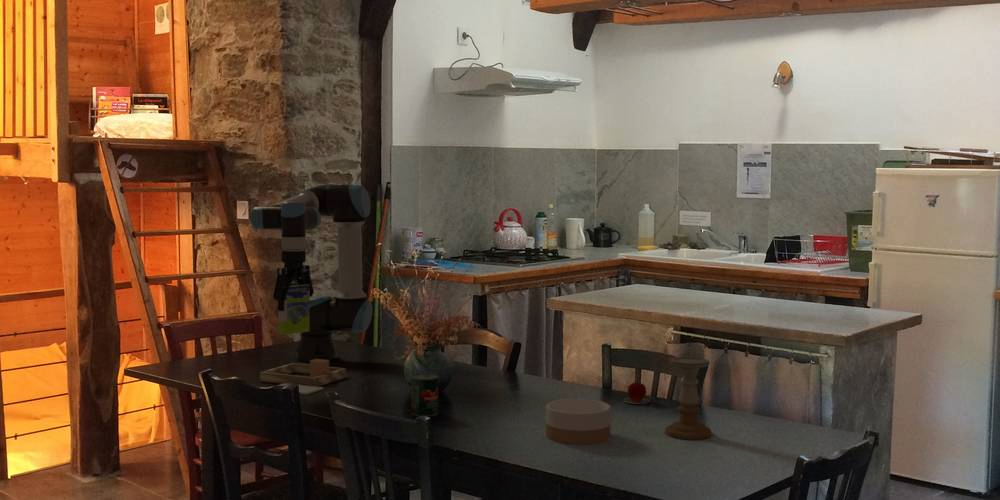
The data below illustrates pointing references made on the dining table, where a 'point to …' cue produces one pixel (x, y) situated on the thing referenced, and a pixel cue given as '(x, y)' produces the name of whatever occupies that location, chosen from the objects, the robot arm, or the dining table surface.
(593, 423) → the brown round container
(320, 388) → the sage mat
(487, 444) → the dining table surface
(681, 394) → the candle holder
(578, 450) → the dining table surface
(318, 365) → the terracotta block
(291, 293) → the box
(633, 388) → the apple
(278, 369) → the crate frame
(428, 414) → the canned tomato
